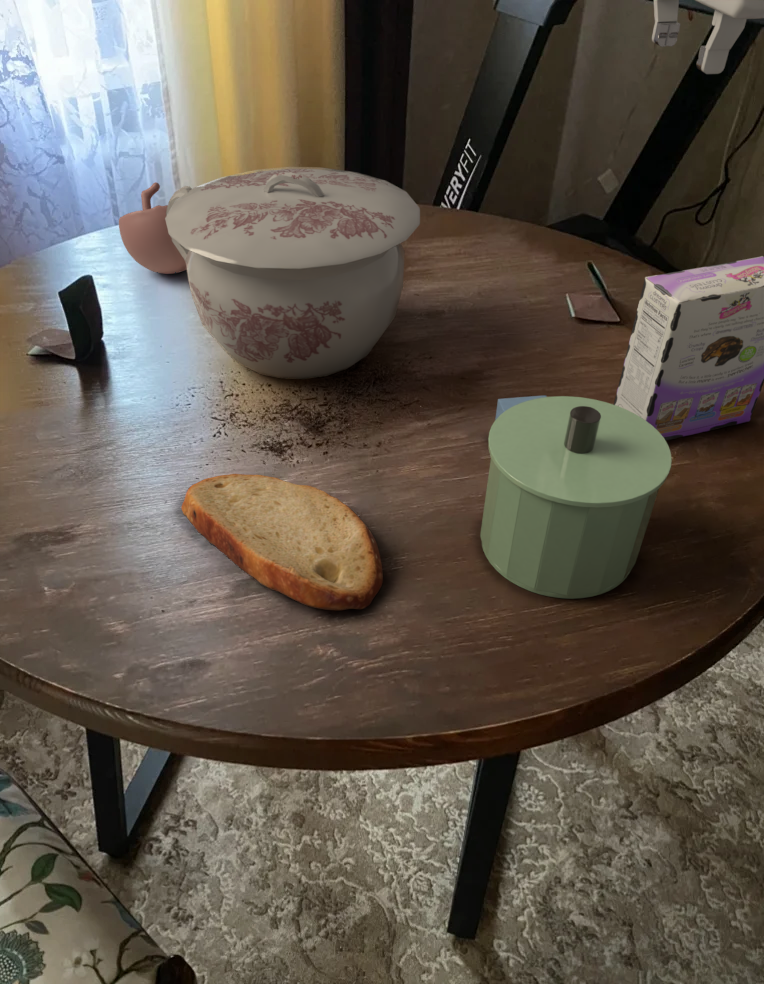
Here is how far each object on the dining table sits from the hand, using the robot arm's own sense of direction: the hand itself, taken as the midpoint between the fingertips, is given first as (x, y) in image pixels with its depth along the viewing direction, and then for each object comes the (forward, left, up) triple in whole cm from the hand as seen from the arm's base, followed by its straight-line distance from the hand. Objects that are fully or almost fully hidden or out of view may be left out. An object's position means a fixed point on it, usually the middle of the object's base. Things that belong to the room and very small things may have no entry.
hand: (684, 57), depth 73 cm
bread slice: (+39, +22, -33) cm, 56 cm away
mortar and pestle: (+50, -37, -33) cm, 71 cm away
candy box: (-5, +8, -33) cm, 35 cm away
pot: (+14, +25, -33) cm, 44 cm away
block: (+13, +11, -33) cm, 37 cm away
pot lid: (+14, +25, -23) cm, 37 cm away
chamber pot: (+34, -13, -33) cm, 49 cm away
